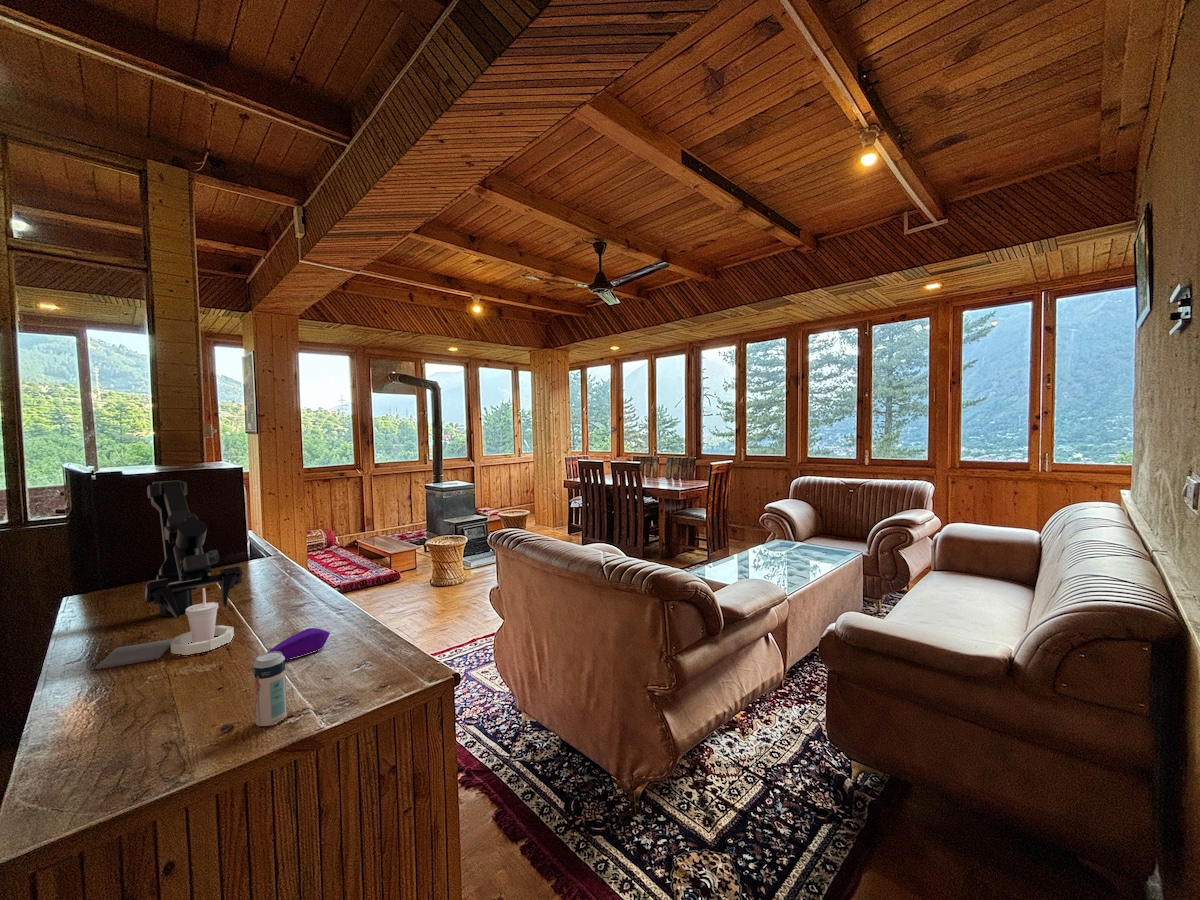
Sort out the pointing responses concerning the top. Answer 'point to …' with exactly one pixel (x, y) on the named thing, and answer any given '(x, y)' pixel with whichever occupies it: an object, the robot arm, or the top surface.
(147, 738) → the top surface
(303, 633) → the purple tapered wedge
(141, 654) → the mat
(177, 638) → the ring holder
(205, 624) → the smoothie
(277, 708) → the pill bottle
